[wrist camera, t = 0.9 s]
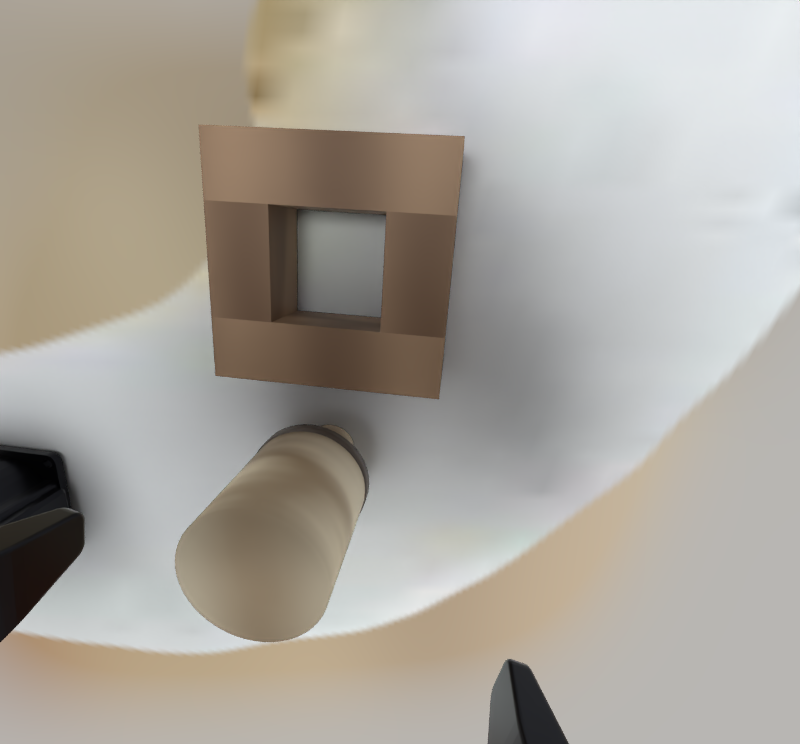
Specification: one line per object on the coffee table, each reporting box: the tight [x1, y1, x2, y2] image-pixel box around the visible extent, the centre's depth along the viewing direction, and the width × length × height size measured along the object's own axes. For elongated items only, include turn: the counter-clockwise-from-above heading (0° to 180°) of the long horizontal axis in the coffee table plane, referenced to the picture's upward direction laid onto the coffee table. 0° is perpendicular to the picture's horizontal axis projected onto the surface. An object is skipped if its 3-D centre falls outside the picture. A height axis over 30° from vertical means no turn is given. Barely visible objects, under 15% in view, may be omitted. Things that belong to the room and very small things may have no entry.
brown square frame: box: [199, 125, 465, 399], centre depth 18 cm, size 9×9×3 cm
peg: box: [175, 424, 369, 642], centre depth 18 cm, size 5×5×9 cm
